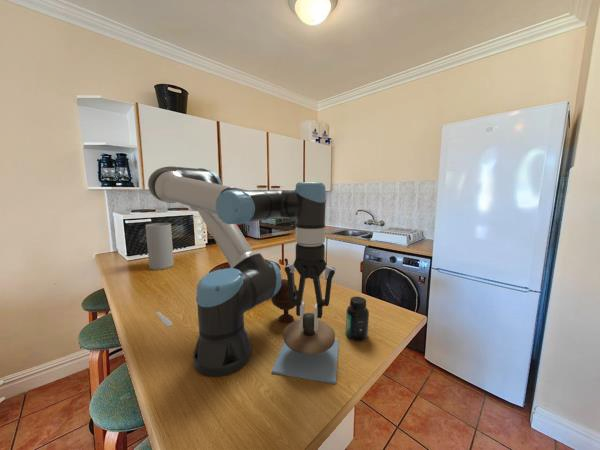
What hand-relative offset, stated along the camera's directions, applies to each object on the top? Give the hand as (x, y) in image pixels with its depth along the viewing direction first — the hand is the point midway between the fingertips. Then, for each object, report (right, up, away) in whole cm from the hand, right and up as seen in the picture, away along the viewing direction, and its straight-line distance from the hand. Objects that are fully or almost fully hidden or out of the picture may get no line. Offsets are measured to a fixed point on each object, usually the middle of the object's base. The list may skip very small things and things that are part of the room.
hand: (309, 327), depth 65 cm
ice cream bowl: (-7, -6, +20) cm, 22 cm away
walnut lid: (0, -3, 0) cm, 3 cm away
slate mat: (0, -9, +1) cm, 9 cm away
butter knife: (-56, -5, +24) cm, 62 cm away
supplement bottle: (+16, -8, +11) cm, 21 cm away
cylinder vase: (-84, +3, +75) cm, 112 cm away
